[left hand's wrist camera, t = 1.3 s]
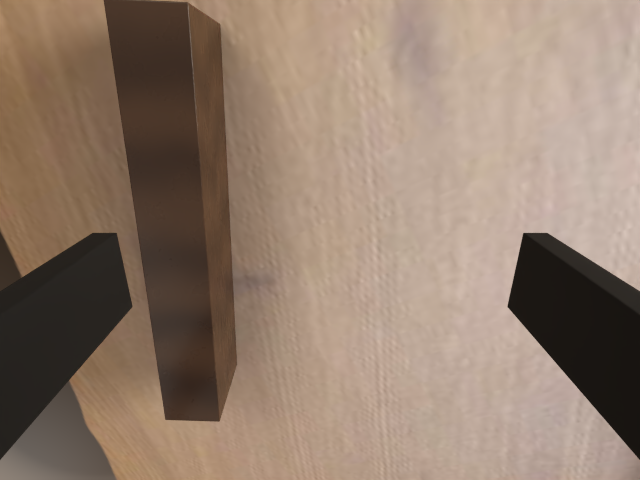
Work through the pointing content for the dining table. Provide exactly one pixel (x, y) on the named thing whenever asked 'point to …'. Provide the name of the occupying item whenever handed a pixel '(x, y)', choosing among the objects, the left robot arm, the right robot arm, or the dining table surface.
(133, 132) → the plank
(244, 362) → the dining table surface
